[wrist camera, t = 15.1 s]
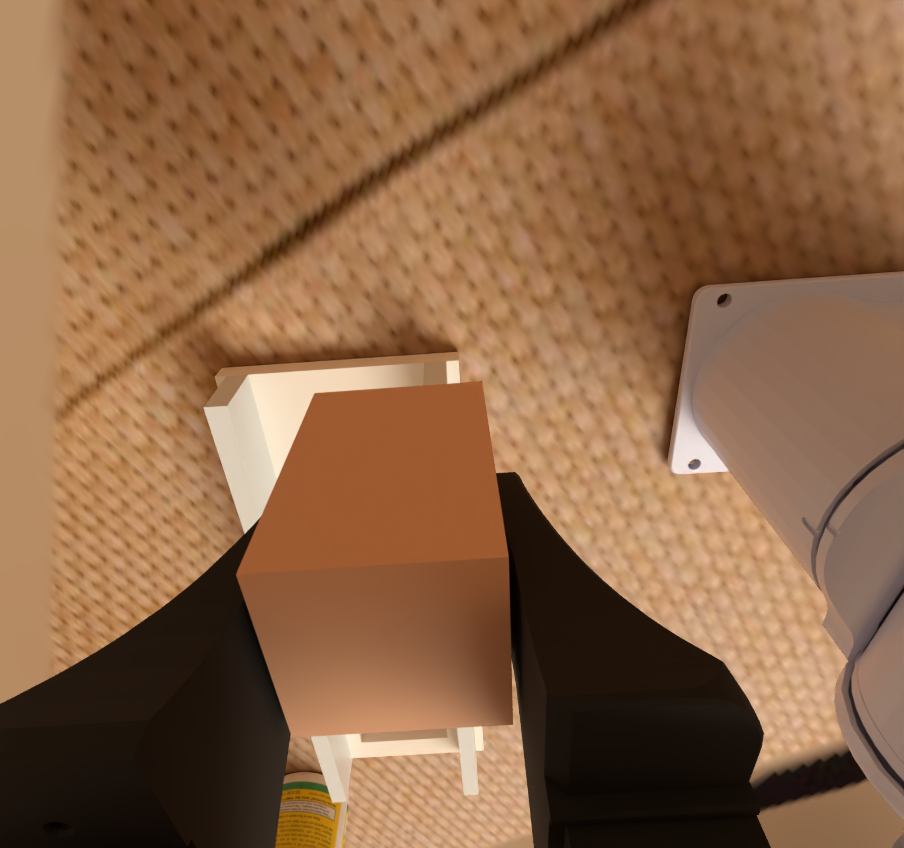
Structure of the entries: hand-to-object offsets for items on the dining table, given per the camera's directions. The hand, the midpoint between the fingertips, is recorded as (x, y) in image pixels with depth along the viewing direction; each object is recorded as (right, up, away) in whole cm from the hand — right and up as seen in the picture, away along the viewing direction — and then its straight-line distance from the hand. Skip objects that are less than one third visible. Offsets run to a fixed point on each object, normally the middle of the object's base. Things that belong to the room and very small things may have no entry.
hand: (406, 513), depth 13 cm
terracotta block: (0, -2, 0) cm, 2 cm away
